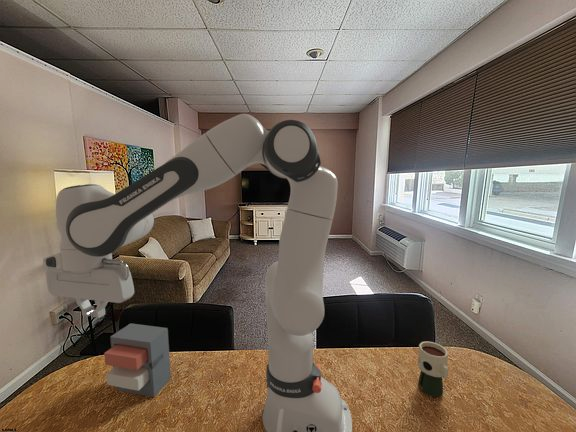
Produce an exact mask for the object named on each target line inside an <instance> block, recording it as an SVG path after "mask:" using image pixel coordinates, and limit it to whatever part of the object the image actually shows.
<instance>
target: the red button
mask: <svg viewBox="0 0 576 432" xmlns="http://www.w3.org/2000/svg"><path fill="white" fill-rule="evenodd" d="M103 355H104V365H105V366H111V367H113V366H116V367H121V368H127V369H133V370H138V369H139V368H140V367H141V366H142V365H143V364H144V363H145V362H147V361H148V351H147V348H141V347H134V346H127V345H121V344H116V345H115V346H113V347H112V348H109V349H108V350H107V351H105V352H104V353H103Z"/></svg>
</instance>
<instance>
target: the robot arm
mask: <svg viewBox="0 0 576 432" xmlns="http://www.w3.org/2000/svg"><path fill="white" fill-rule="evenodd" d="M256 164H260V165H261V166H262V167H264V169H266V170H267V171H269V173H270V174H271V175H273V176H275V177H277V178H279V179H284V180H287V181H288V183H289V186H290V193H289V194H290V195H289V199H288V203H287V207H286V211H285V215H284V219H283V224H282V228H281V230H280V232H281V233H280V236H279V240H278V243H279V245H278V260H276V261H274V262H273V263H272V264H271V265H270V266H269V267H268V268H267V270H266V273H265V277H264V297H265V314H266V315H265V316H266V329H267V345H268V346H267V353H268V358H267V361H268V362H267V365H266V370H265V371H266V375H265V376H266V377H265V379H266V388H267V393H266V400H265V405H264V408H263V412H262V423H263V427H264V429H265V432H353V420H352V414H351V411H350V408H349V405H348V404H347V402H346V401H345V400H344V399H343V398H341V395H340V392H339V390H338V388H337V387H336V386H335V385H334V384H332V383H331V382H329V381H328V380H326V378H324V377H322V371H321V364H320V362H318V366H316V364H315V363H314V362H313V359H314V356H313V355H314V335H313V332H315V331H316V330H317V329H318V328H319V327H320V326H321V324H322V323H323V320H324V318H325V303H324V296H323V294H324V293H323V288H324V286H323V285H324V273H325V270H324V269H325V256H326V255H325V254H326V251H327V250H326V249H327V244H328V239H329V238H330V232H331V228H332V225H333V220H334V216H335V211H336V205H337V198H338V188H339V185H338V183H339V182H338V178H337V176H336V175H335V173H333V172H332V170H330V169H328V168H326V167H323V166H321V165H322V160H321V157H320V153H319V149H318V144H317V140H316V137H315V135H314V133H313V131H312V130H311V129H310V127H309V126H308V125H307V124H306V123H304V122H301V121H300V120H298V119H297V120H296V119H286V120H281V121H279V122H278V123H276V124H275V125H273V126H272V127H271V129H269V130H267V129H266V128H265V127H263V125H262V123H261V122H260V121H259V120H258V119H257V118H255V117H254V116H253V115H252V114H248V113H239V114H238V115H235V116H233V117H230V118H229V119H226V120H224V121H223V122H220V123H219V124H217V125H215V126H214V127H212V128H210V129H209V130H207V131H206V132H204V133H203V134H202V135H200V136H198V137H197V138H195V139H194V140H193V141H191V142H190V143H189V144H188V145H187V146H186V147H184V148H183V149H182V150H180V151H179V152H178V153H177V154H175V155H173V156H172V157H171V158H170V159H168V160H167V161H165V163H163V164H162V165H160V166H158V167H157V168H155V169H154V170H152V171H151V172H149V173H147V174H145V175H144V176H143V177H141V178H139V179H137V180H136V181H134V182H132V183H131V184H130V185H128V186H126V187H125V188H123V189H121V190H120V191H118V192H117V193H113V192H111V191H109V190H108V189H106V188H105V187H104V186H102V185H100V184H94V183H93V184H91V183H89V184H87V183H86V184H77V185H72V186H67V187H64V188H63V189H60V190H59V191H58V194H57V196H56V200H55V216H56V217H55V218H56V227H57V228H56V229H57V231H58V232H59V234H60V243H59V251H60V252H58V253H55V254H52V255H47V256H45V257H43V259H42V264H43V266H44V267H45V268H46V270H45V279H46V287H47V290H48V292H49V294H50V295H51V296H53V297H62V298H69V299H70V298H71V299H75V303H76V304H77V306H78V307H79V309H80V310H81V315H82V316H83V317H90V316H92V317H93V318H102V317H104V316H105V315H106V306H107V305H108V303H115V304H116V303H117V304H121V303H124V302H126V301H128V300H129V299H131V298H132V297H133V296H134V294H135V286H134V281H133V276H132V273H131V271H130V267H129V265H128V264H127V263H126V262H124V260H123V259H113V252H115V251H117V250H119V249H121V248H122V247H124V246H127V245H129V244H131V243H134V242H137V241H138V240H140V239H143V238H144V237H145V236H147V235H149V233H151V232H152V230H153V228H154V226H155V215H154V213H155V212H156V211H158V210H160V209H161V208H163V207H164V206H166V205H167V204H168V203H170V202H172V201H173V200H176V199H178V198H180V197H183V196H186V195H191V194H195V193H199V192H203V191H204V192H205V191H207V190H208V191H209V190H210V189H213V188H216V187H218V186H220V185H222V184H224V183H226V182H227V181H229V180H230V181H231V180H232V179H233V178H234V177H235V176H237V175H239V174H240V173H241V172H242V171H244V170H245V169H247V168H249V167H250V166H252V165H256ZM90 300H91V301H94V303H95V305H96V307H95V306H94V305H92V304H91V302H90Z"/></svg>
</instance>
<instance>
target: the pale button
mask: <svg viewBox="0 0 576 432" xmlns="http://www.w3.org/2000/svg"><path fill="white" fill-rule="evenodd" d="M105 376H106V384H107V386H112V387H115V386H116V387H121V388H126V389H132V390H137V391H139V390H140V389H141V388H142V387H143V386H144V385H145V384H146V383H147V382H148V381H149V380H150V377H149V368H143V367H140V368H139V369H138V370H133V369H127V368H121V367H116V366H115V367H114V368H113V367H112V368H111V369H110V370H109V371H107V372H106V373H105Z"/></svg>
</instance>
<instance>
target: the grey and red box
mask: <svg viewBox="0 0 576 432" xmlns="http://www.w3.org/2000/svg"><path fill="white" fill-rule="evenodd" d="M116 344H121V345H127V346H134V347H141V348H147V351H148V361H147V362H145V363H144V364H143V365H142V366H141V367H143V368H149V377H150V380H149V381H148V382H147V383H146V384H145V385H144V386H143V387H142V388H141V389H140V390H139V391H137V390H132V389H126V388H121V387H116V386H114V388H115V389H114V390H116V391H121V392H125V393H131V394H135V395H141V396H146V397H152V398H156V396H157V395H158V394H159V393H160V391H161V390H162V389H163V388H164V387H165V386H166V385H167V383H168V382H169V381H170V380H171V378H172V377H171V376H172V375H171V374H172V373H171V363H170V361H171V360H170V344H169V329H168V327H161V326H155V325H154V326H153V325H145V324H139V323H138V324H137V323H129V324H128V325H126V326H125V327H122V328H121V329H119V330H118V331H117V332H115V333H114V334H112V335H110V346H111V348H112V347H113V346H115V345H116ZM111 348H110V349H111ZM114 367H115V366H112V368H114Z"/></svg>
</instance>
